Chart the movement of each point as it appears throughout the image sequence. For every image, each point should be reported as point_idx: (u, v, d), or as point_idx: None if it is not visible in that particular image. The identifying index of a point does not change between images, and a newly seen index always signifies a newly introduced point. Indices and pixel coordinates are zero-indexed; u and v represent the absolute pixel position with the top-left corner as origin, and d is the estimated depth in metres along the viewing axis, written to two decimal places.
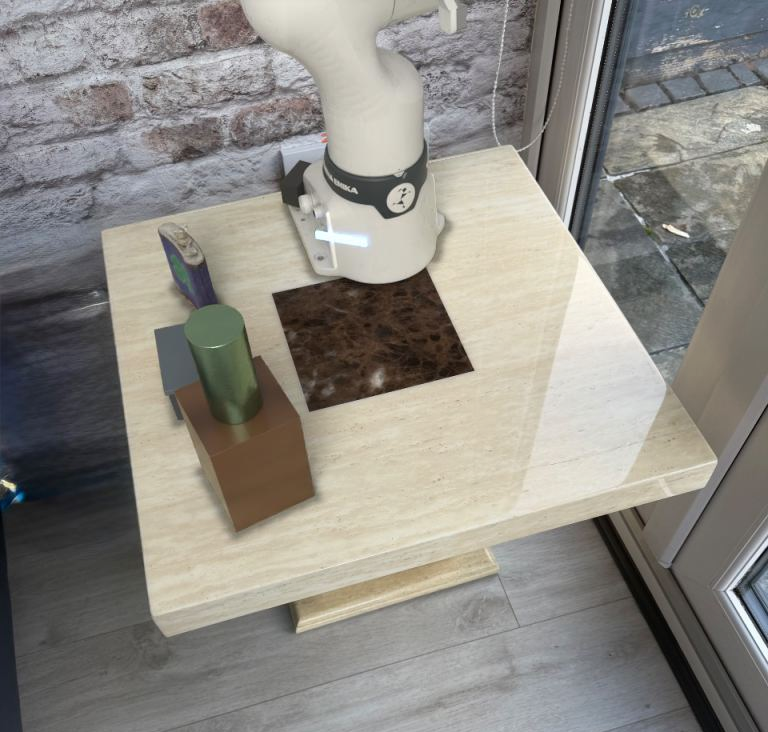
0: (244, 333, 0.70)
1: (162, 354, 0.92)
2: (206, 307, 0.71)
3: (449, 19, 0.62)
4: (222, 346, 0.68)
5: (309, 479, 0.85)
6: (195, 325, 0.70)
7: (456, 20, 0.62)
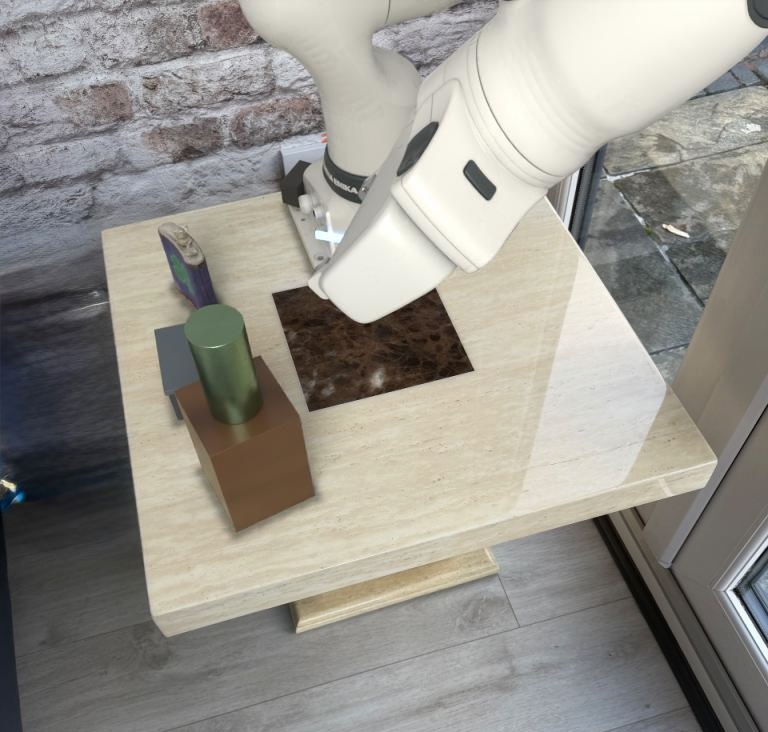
0: (244, 333, 0.70)
1: (162, 354, 0.92)
2: (206, 307, 0.71)
3: None
4: (222, 346, 0.68)
5: (309, 479, 0.85)
6: (195, 325, 0.70)
7: None
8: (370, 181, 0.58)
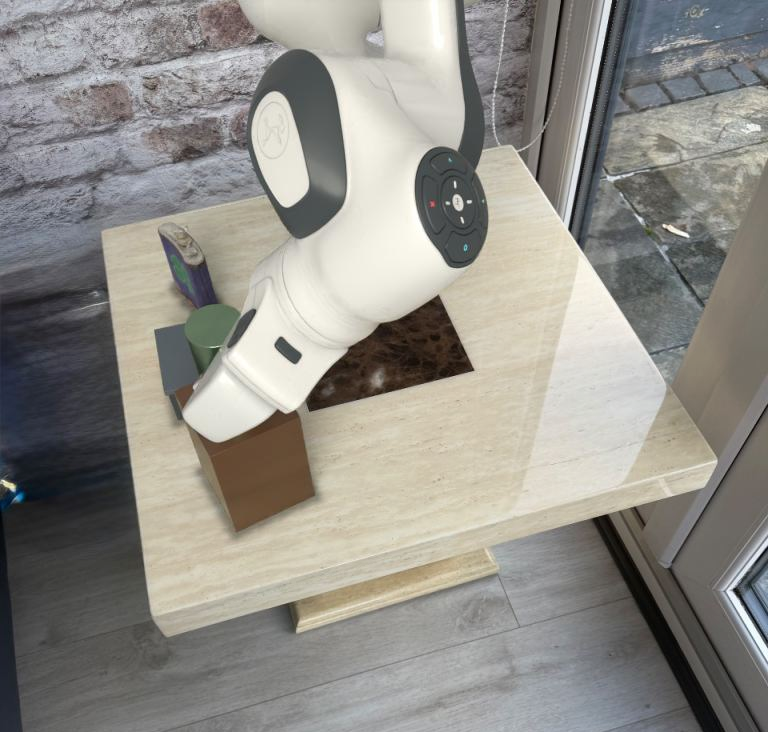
0: None
1: (162, 354, 0.92)
2: (206, 307, 0.71)
3: None
4: None
5: (309, 479, 0.85)
6: (195, 325, 0.70)
7: None
8: None
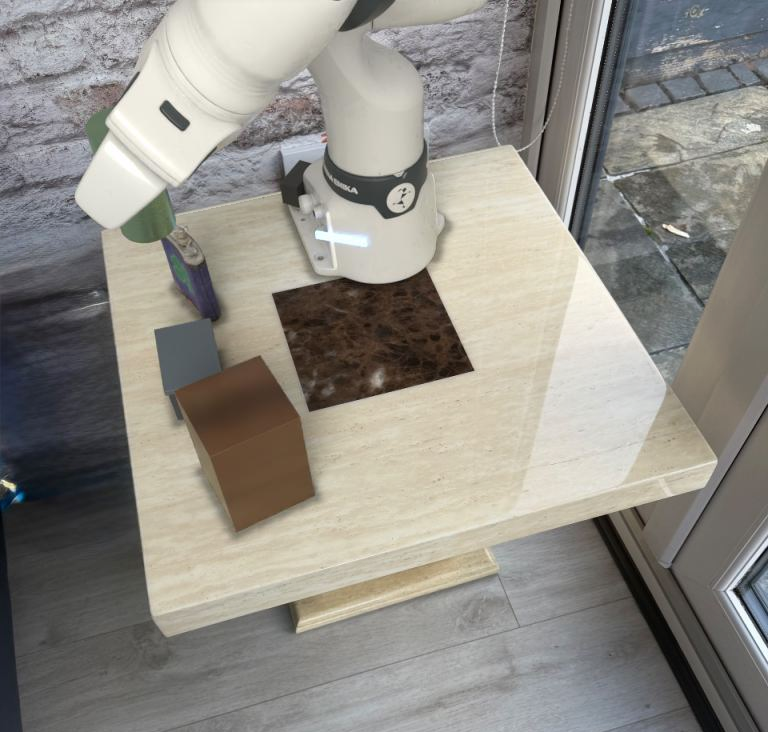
0: None
1: (162, 354, 0.92)
2: (109, 108, 0.69)
3: None
4: None
5: (309, 479, 0.85)
6: (96, 124, 0.68)
7: None
8: None
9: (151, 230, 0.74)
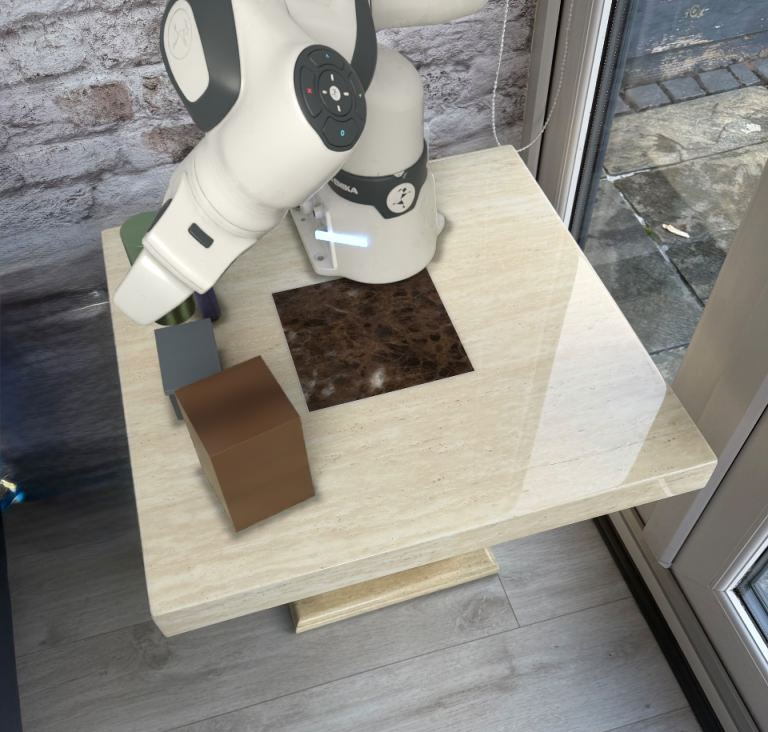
0: None
1: (162, 354, 0.92)
2: (140, 213, 0.79)
3: None
4: None
5: (309, 479, 0.85)
6: (130, 228, 0.78)
7: None
8: None
9: (175, 315, 0.84)
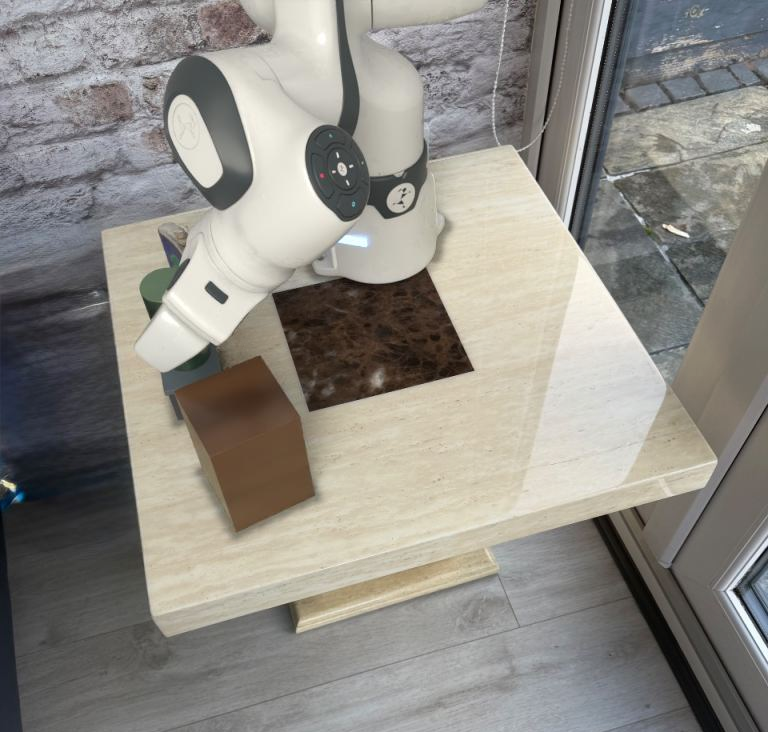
0: None
1: None
2: (158, 269, 0.85)
3: None
4: None
5: (309, 479, 0.85)
6: (149, 284, 0.84)
7: None
8: None
9: (190, 362, 0.90)
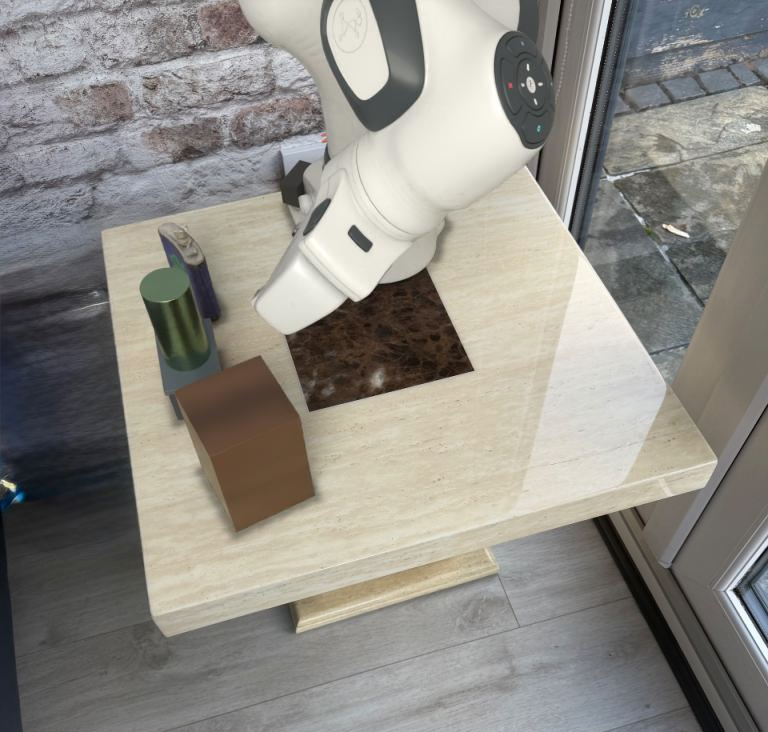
0: (190, 291, 0.84)
1: (162, 354, 0.92)
2: (158, 269, 0.85)
3: None
4: (170, 301, 0.82)
5: (309, 479, 0.85)
6: (149, 284, 0.84)
7: None
8: (300, 225, 0.77)
9: (190, 362, 0.90)
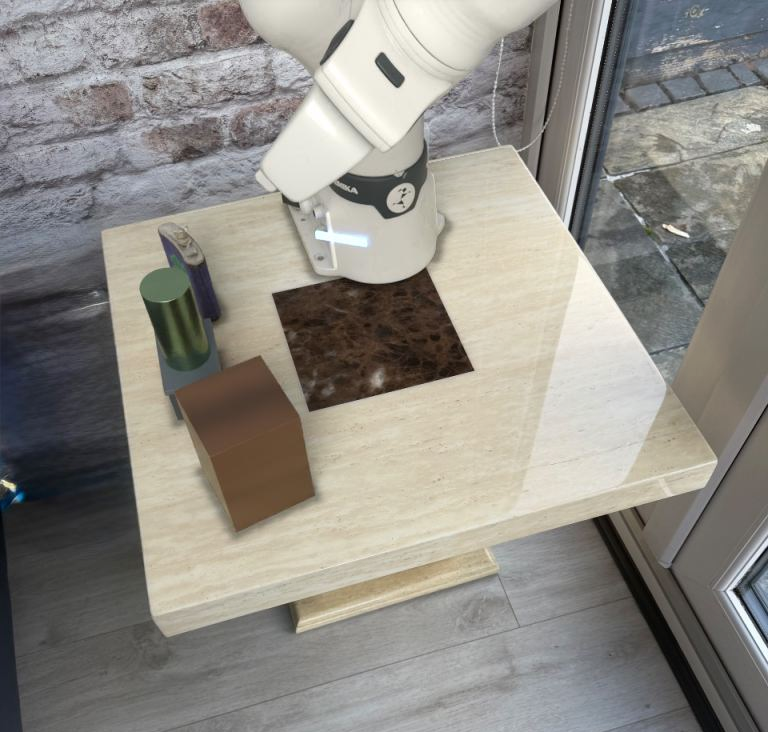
0: (190, 291, 0.84)
1: (162, 354, 0.92)
2: (158, 269, 0.85)
3: None
4: (170, 301, 0.82)
5: (309, 479, 0.85)
6: (149, 284, 0.84)
7: None
8: None
9: (190, 362, 0.90)
